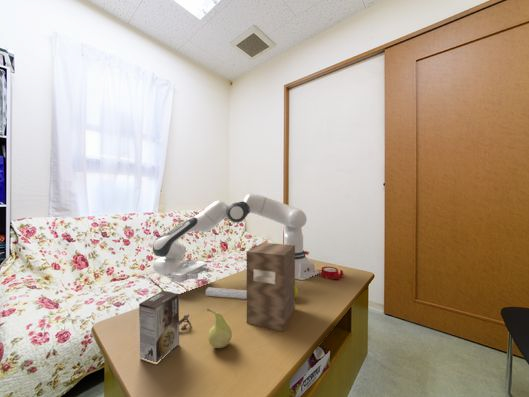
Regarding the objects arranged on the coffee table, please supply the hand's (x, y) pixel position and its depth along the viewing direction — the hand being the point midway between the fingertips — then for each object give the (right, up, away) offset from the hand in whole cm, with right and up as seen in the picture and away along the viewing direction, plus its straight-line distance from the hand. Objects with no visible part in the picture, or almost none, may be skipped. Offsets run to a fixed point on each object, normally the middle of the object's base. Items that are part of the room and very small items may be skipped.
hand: (203, 273), depth 107 cm
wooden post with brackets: (0, -9, -31) cm, 33 cm away
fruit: (+16, -9, -40) cm, 44 cm away
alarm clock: (+69, -8, +18) cm, 71 cm away
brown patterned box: (+33, -8, -22) cm, 41 cm away
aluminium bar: (+14, -9, -6) cm, 17 cm away
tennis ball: (+41, -9, -9) cm, 43 cm away
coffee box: (-1, -9, -42) cm, 43 cm away
